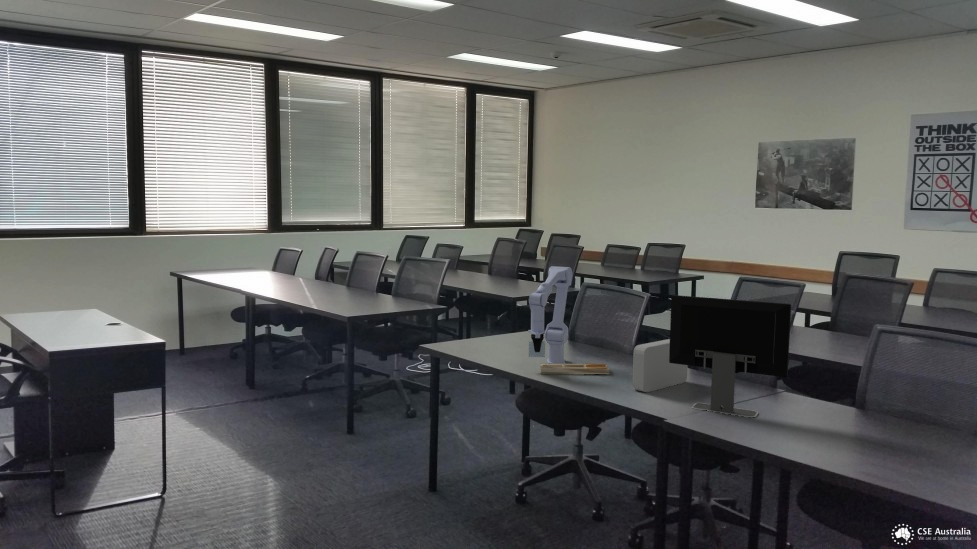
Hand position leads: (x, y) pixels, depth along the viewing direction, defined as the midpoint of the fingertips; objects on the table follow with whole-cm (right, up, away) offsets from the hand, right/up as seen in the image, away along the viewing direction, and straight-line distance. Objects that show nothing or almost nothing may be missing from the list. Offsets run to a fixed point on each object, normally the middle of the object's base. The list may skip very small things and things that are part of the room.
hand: (537, 351), depth 318 cm
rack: (+16, -9, 0) cm, 18 cm away
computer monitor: (+63, -16, -56) cm, 86 cm away
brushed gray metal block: (0, -2, 0) cm, 2 cm away
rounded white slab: (+48, -12, -23) cm, 55 cm away
